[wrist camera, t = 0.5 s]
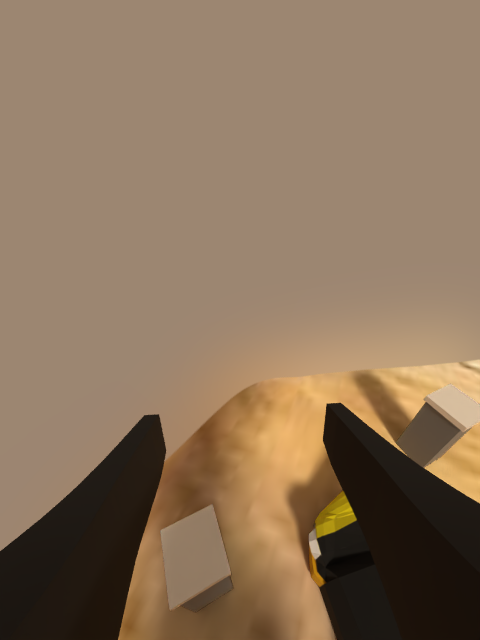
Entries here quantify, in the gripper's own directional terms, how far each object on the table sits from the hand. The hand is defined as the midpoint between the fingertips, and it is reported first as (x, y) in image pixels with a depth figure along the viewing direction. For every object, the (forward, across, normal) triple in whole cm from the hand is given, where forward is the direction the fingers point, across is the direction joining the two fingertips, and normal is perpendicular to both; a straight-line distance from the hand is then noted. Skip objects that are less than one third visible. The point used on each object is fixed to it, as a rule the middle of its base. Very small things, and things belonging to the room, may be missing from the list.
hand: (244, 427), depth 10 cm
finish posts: (+7, -8, +17) cm, 20 cm away
